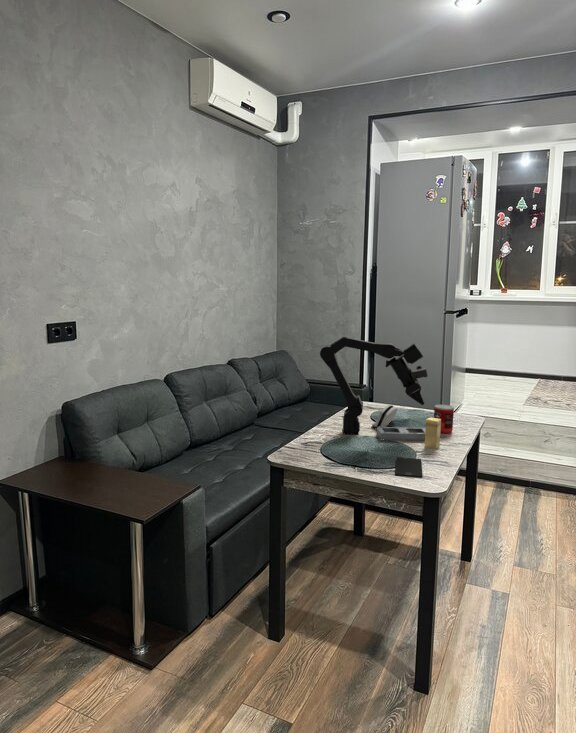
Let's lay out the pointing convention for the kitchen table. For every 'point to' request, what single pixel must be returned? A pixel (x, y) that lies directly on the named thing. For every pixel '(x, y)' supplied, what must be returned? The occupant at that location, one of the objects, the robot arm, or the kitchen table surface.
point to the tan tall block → (432, 433)
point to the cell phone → (408, 467)
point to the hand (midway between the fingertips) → (422, 402)
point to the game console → (385, 416)
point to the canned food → (445, 417)
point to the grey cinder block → (401, 433)
